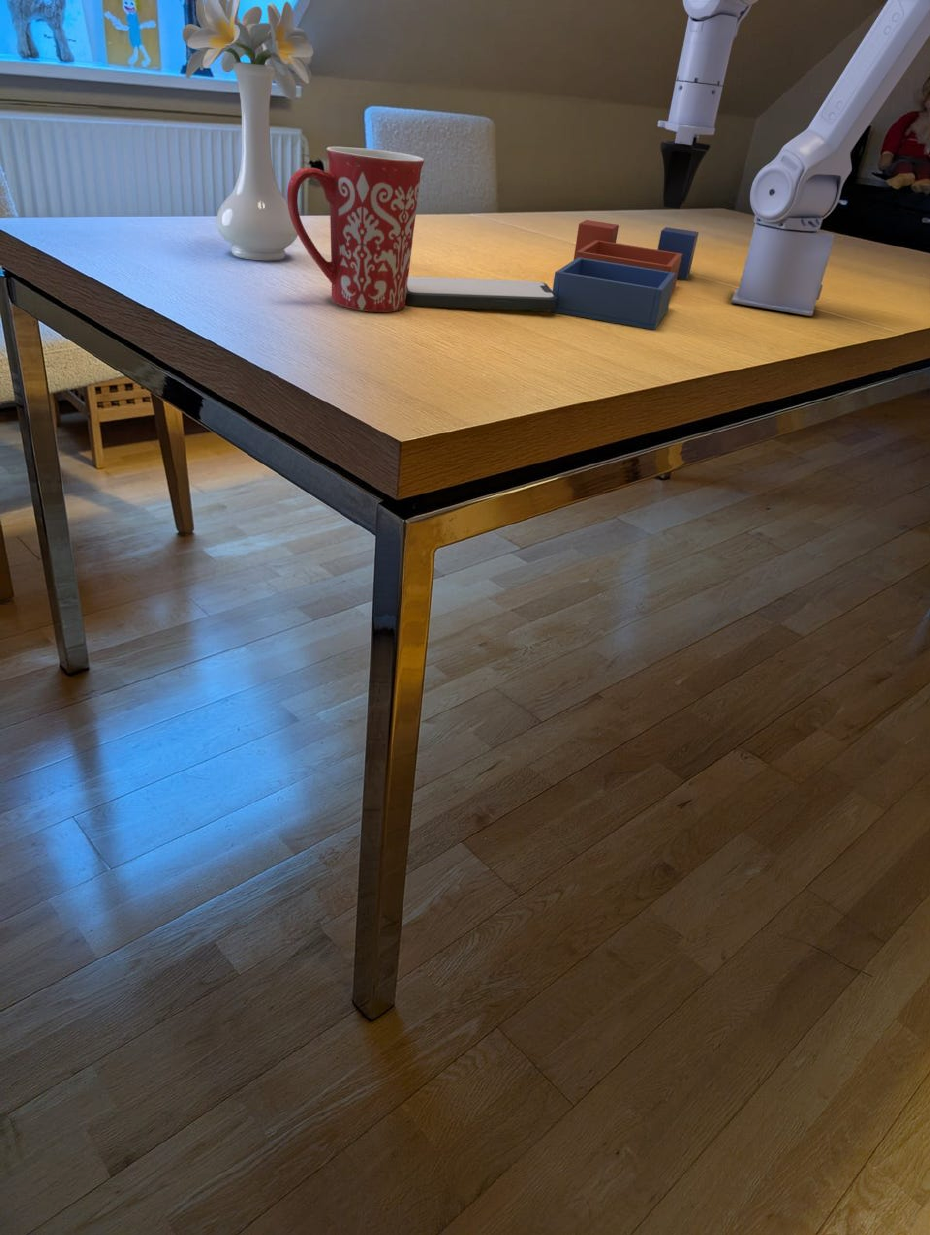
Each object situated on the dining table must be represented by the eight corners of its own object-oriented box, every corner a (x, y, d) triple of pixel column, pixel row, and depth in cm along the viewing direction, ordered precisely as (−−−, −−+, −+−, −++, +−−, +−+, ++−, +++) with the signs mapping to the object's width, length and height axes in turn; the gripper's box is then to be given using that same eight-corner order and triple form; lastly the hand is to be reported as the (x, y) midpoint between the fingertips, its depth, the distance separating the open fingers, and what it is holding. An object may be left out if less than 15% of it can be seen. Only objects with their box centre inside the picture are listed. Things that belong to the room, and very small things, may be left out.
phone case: (404, 309, 89) (559, 314, 91) (404, 293, 88) (560, 298, 90) (400, 290, 96) (543, 295, 98) (400, 275, 96) (545, 280, 98)
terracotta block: (611, 268, 119) (619, 224, 116) (605, 273, 115) (613, 228, 113) (579, 263, 120) (586, 219, 117) (572, 268, 116) (579, 223, 114)
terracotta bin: (675, 286, 112) (682, 253, 110) (663, 302, 103) (671, 266, 101) (589, 272, 115) (595, 239, 113) (571, 286, 106) (576, 251, 104)
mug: (400, 293, 93) (408, 150, 86) (425, 315, 86) (436, 161, 79) (280, 290, 89) (278, 140, 82) (296, 313, 82) (296, 150, 75)
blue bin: (668, 310, 100) (675, 273, 98) (654, 330, 91) (662, 289, 89) (572, 293, 102) (578, 257, 100) (549, 311, 93) (555, 271, 91)
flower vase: (317, 245, 112) (319, 8, 99) (306, 275, 96) (307, -2, 83) (212, 236, 110) (200, -7, 97) (183, 264, 95) (165, -20, 82)
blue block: (689, 275, 121) (698, 232, 118) (685, 280, 117) (695, 235, 114) (656, 269, 122) (665, 226, 119) (652, 274, 118) (661, 230, 115)
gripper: (671, 80, 115) (648, 195, 122) (661, 78, 102) (637, 205, 110) (726, 87, 113) (700, 202, 120) (722, 86, 101) (694, 214, 108)
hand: (673, 204), depth 115 cm, fingers open, 7 cm apart
